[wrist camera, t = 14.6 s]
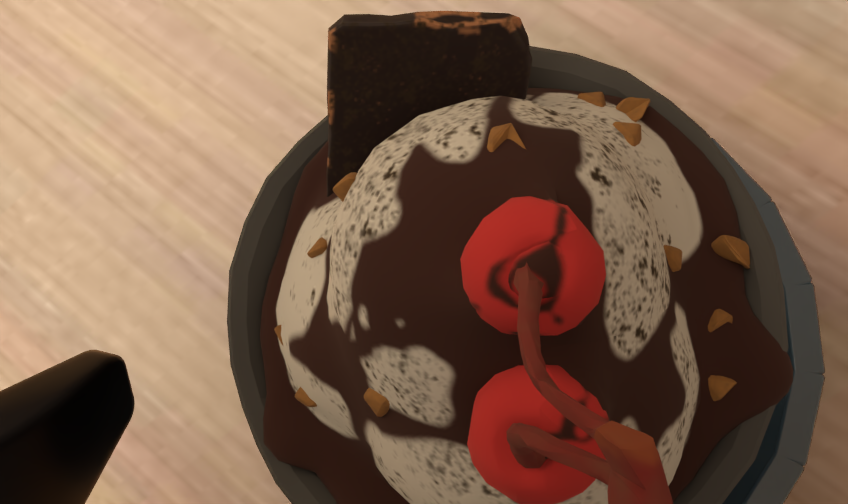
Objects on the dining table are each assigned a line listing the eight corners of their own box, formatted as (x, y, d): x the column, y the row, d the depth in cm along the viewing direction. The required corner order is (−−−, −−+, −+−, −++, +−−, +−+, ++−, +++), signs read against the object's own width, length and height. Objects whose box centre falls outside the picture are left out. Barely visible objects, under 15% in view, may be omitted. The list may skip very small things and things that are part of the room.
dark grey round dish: (872, 392, 18) (959, 390, 14) (496, 687, 18) (479, 765, 14) (562, 61, 21) (563, -19, 17) (242, 317, 21) (170, 297, 17)
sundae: (620, 542, 18) (900, 1195, 3) (358, 437, 19) (-278, 541, 5) (704, 275, 18) (1238, -201, 4) (447, 195, 20) (142, -360, 5)
